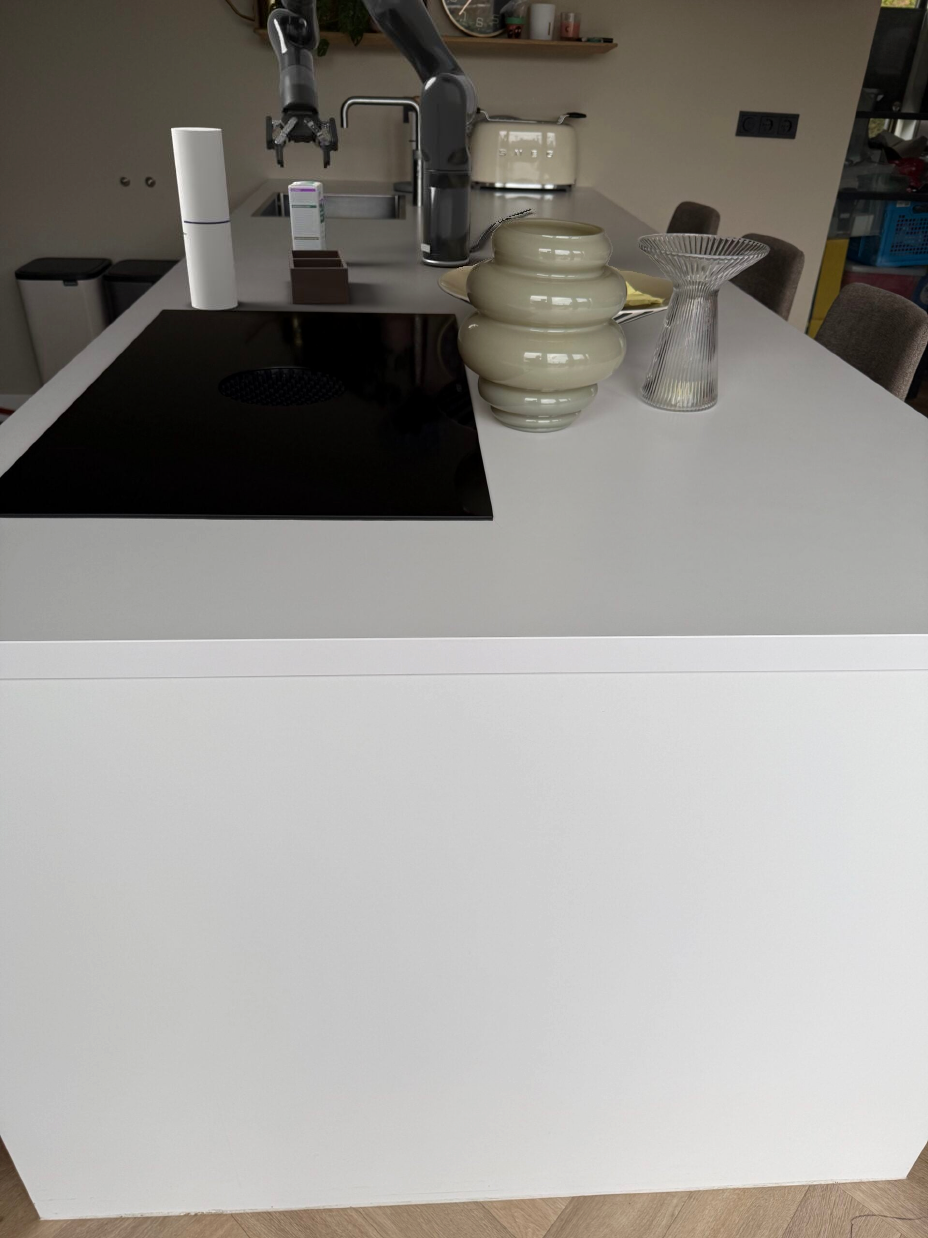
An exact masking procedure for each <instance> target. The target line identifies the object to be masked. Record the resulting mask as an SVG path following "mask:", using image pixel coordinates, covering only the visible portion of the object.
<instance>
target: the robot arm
mask: <svg viewBox="0 0 928 1238" xmlns="http://www.w3.org/2000/svg"><path fill="white" fill-rule="evenodd" d="M280 1H281V3H282V6H283V7H284V8H276V9H274V10H272V11H271V13H270V14H269V16H268V18H267V25H266V26H267V27H266V28H267V34H268V39H269V41H270V44H271V47H272V49H273V52H274V53H275V57H276V59H277V62H278V69H279V84H278V86H279V102H280V113H281V114H280V118H279V119H273V117H272V116H271V115H267V116H265V147H266V149H267V150H268V151H272V150H273V151H274V152H275V161H276V164H277V165H278V166H279V167H280V169H281V168H282V169H284V168H285V163H284V150H285V148H288V147H289V146H290V144H291V143H294V144H300V143H304V144H311V143H312V144H313V145H314V146H315V147H316V148H318V149H320V150H321V151H322V164H323V165H322V166H323V169H328V166H330V165H331V152H338V151H339V135H338V130H337V124H336V118H335V117H329V119H328V120H322V119H321V118H320V110H319V100H318V99H319V96H318V88H317V82H316V76H315V65H314V64H315V63H314V58H313V55H312V53H313V52H314V51H315V50H317V48H318V46H319V44H320V36H321V35H320V34H321V33H320V25H319V21H318V15H317V14H318V13H317V0H280ZM361 1H362V3H363V5H364V6H365V8H366V9H367V11H368V13H369V14H370V17H371V18H372V19H373V21H374V23H375V24H376V25H377V27H378V28H379V29H380V31H381V32H382V34H383V35H384V36H385V37H386V38H387V40H389V42H391V44H392V45H393V46H394V47H395V48H396V49H397V50H398V51H399V52H400V54H402V55H403V56H404V57H405V59H406V60H407V61H408V63H410V65H411V66H412V68H413V69H414V71H415V73H416V74H417V76H418V78H419V80H420V82H421V84H422V87H421V90H420V94H419V101H418V121H419V122H418V126H419V127H418V128H419V129H418V131H419V148H420V153H421V156H422V160H423V161H422V163H423V164H422V165H423V166H422V167H423V168H422V169H423V173H422V174H423V175H422V176H423V179H422V197H423V198H422V201H423V202H422V243H421V242H420V250H421V251H422V257H421V259H422V260H421V262H422V263H423V264H424V265H426V266H431V267H442V268H443V267H445V268H450V267H451V268H453V267H463V265H464V266H467V265H469V264H468V263H470V257H471V252H473V251H475V250H476V249H478V248H479V247H480V245H481V243H482V242H483V240H484V238H485V237H486V236H487V234H488V233H489V232H490V231H491V230H492V229H493V228H494V227H493V226H494V225H495V224H496V223H495V222H497V221H498V222H499V220H501V219H502V221H504V220H503V218H501V219H498V220H497V221H495V222H493V223H494V224H493V223H492V224H493V225H492V224H490V225H491V226H490V225H489V226H490V227H489V226H488V227H489V228H488V227H487V228H488V229H487V228H486V229H487V230H486V229H485V230H486V231H485V230H484V231H485V233H484V231H483V232H482V233H481V235H480V236H479V237H478V239H477V240H476V243H475V244H476V245H475V244H474V245H472V246H471V227H472V226H471V223H472V213H471V180H472V178H471V177H472V154H471V152H470V150H469V148H468V143H467V142H468V141H467V125H469V124H470V123H471V122H472V121H473V119H474V118H475V116H476V113H477V111H478V110H477V109H478V103H479V102H478V94H477V90H476V87H475V86H474V84H473V82H472V81H471V79H470V77H469V76H468V74H467V73H466V72H465V71H464V70H463V69H464V68H462V66H461V65H460V64H459V62H458V61H457V59H456V58H455V56H454V55H453V54H452V52H451V50H450V49H449V48H448V46H447V45H446V44H445V42H444V40H443V38H442V37H441V36H442V35H440V33H439V31H438V29H437V26H436V24H435V23H434V20H433V19H432V17H431V15H430V13H429V11H428V10H427V7H426V6H425V3H424V1H423V0H361ZM278 128H279V129H280V130H281V131H280V134H279V135H278V136H277V137H276V138H275V139H274V138H273V137H274V136H273V134H275V133H276V132H277V129H278ZM323 129H324V130H325V132H326V133H327V135H329V138H330V140H329V139H328V138H327V137H326V136H325V135H324V133H323V131H322V130H323ZM528 209H529V210H528ZM528 209H525V210H526V211H525V210H522V211H523V212H522V211H520V213H519V212H516V213H517V214H516V213H514V215H513V214H510V215H508V216H509V217H511V215H512V216H515V215H519V214H523V213H524V212H527V211H530V210H531V209H532V208H528ZM523 215H524V214H523ZM515 218H516V217H514V218H506V219H505V220H507V221H509V220H512V219H515ZM508 219H509V220H508ZM502 221H501V222H502ZM501 222H499V223H500V224H502V223H503V222H502V223H501ZM504 222H505V221H504ZM492 227H493V228H492ZM491 228H492V229H491ZM490 229H491V230H490ZM483 233H484V234H483ZM482 234H483V236H482ZM481 236H482V237H481ZM480 237H481V239H480ZM479 239H480V240H479ZM478 240H479V242H478ZM481 241H482V242H481ZM477 242H478V244H477ZM478 246H479V247H478ZM477 247H478V248H477ZM472 250H473V251H472ZM470 251H471V252H470ZM469 256H470V257H469ZM468 258H469V260H468ZM466 264H467V265H466Z"/></svg>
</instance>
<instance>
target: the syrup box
mask: <svg viewBox="0 0 928 1238" xmlns="http://www.w3.org/2000/svg"><path fill="white" fill-rule="evenodd" d="M287 188H288V198H289V199H288V200H289V212H290V213H289V214H290V226H291V228H290V229H291V238H292V239H291V240H292V250H328V248H327V247H328V246H327V235H326V234H327V233H326V218H325V204H324V201H325V200H324V185H323V182H320V181H310V180H309V181H308V180H307V181H294V182H292V184H289V185H288V187H287Z"/></svg>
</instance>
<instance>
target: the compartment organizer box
mask: <svg viewBox="0 0 928 1238" xmlns="http://www.w3.org/2000/svg"><path fill="white" fill-rule="evenodd" d="M288 267H289V282H290V291H291V300H292V305H303V304H304V305H305V304H306V305H307V304H308V305H309V304H311V305H312V304H313V305H314V304H315V305H316V304H350V289H349V288H350V286H349V268H348V266H347V263H346V261H345V257H344V255H343V252H342V250H341V249H327V250H293V249H288Z"/></svg>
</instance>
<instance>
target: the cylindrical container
mask: <svg viewBox="0 0 928 1238" xmlns="http://www.w3.org/2000/svg"><path fill="white" fill-rule="evenodd" d="M170 131H171V138H172V148H173V156H174V164H175V165H174V166H175V172H176V182H177V191H178V198H179V199H178V200H179V207H180V215H181V225H182V232H183V242H184V251H185V258H186V267H187V275H188V283H189V291H190V300H191V306H192V308H195V309H197V310H198V309H199V310H202V311H203V310H204V311H205V310H206V311H222V310H229V309H233V308H236V307H238V305H239V304H238V295H237V293H238V292H237V283H236V282H237V281H236V273H235V272H236V271H235V261H234V260H235V259H234V250H233V239H232V238H233V237H232V230H231V229H232V228H231V221H230V218H231V217H230V209H229V207H230V206H229V198H228V197H229V195H228V186H227V176H226V164H225V154H224V143H223V134H222V129H221V128H216V127H215V128H214V127H172V128H171V129H170Z"/></svg>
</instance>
